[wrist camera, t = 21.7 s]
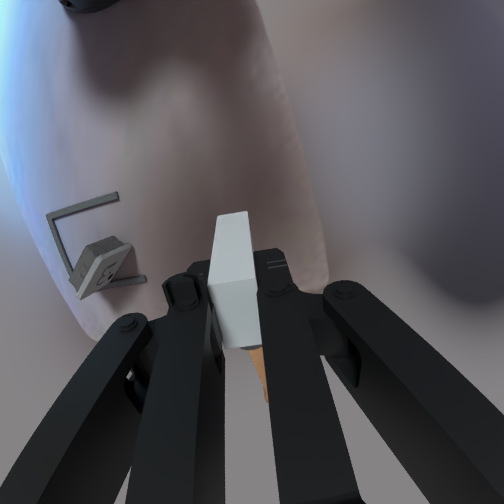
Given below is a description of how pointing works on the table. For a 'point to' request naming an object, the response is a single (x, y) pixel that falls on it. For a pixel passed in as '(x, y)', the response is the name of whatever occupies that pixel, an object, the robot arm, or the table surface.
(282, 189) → the table surface
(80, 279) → the electrical switch
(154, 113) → the table surface
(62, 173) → the table surface
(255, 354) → the lever
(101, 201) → the bay
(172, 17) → the table surface
